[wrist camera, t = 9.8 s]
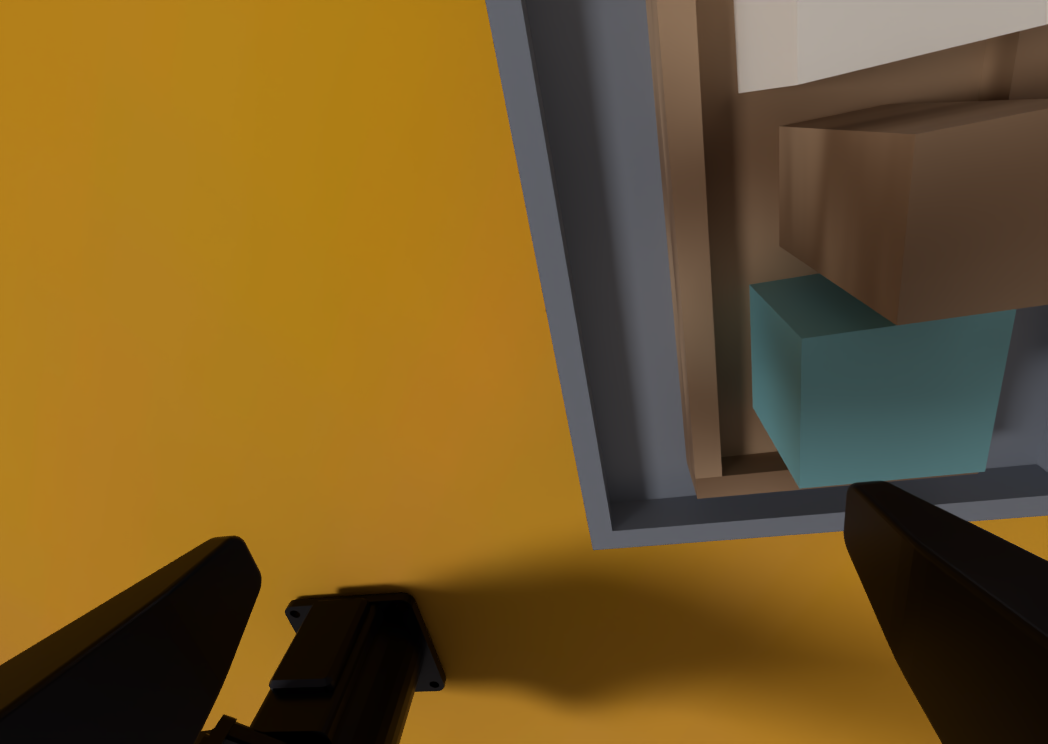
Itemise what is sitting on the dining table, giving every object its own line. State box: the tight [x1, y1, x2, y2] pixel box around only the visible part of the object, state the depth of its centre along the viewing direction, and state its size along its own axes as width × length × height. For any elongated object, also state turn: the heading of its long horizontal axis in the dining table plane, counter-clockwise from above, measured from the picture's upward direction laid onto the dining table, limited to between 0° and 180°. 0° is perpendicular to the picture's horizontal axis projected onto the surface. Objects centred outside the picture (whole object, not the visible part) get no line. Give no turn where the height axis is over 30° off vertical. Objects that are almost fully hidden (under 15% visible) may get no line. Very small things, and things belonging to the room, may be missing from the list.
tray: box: [485, 0, 1048, 550], centre depth 14 cm, size 23×16×2 cm
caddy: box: [646, 0, 1048, 499], centre depth 11 cm, size 18×8×7 cm, turn 12°
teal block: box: [749, 273, 1016, 489], centre depth 13 cm, size 4×4×4 cm
